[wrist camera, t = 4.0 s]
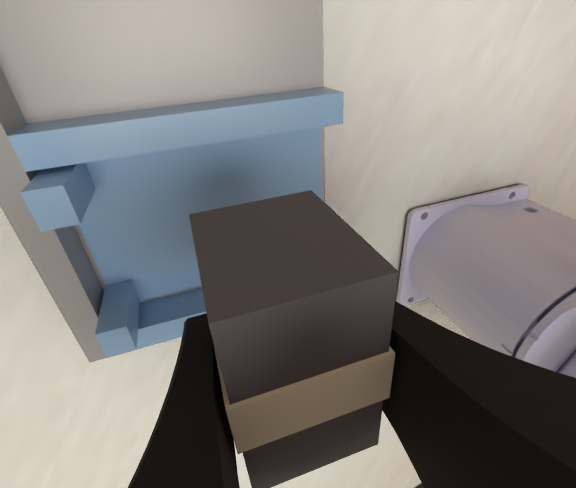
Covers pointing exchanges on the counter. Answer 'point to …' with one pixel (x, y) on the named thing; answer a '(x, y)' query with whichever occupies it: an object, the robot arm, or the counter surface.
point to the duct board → (150, 144)
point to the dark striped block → (296, 331)
